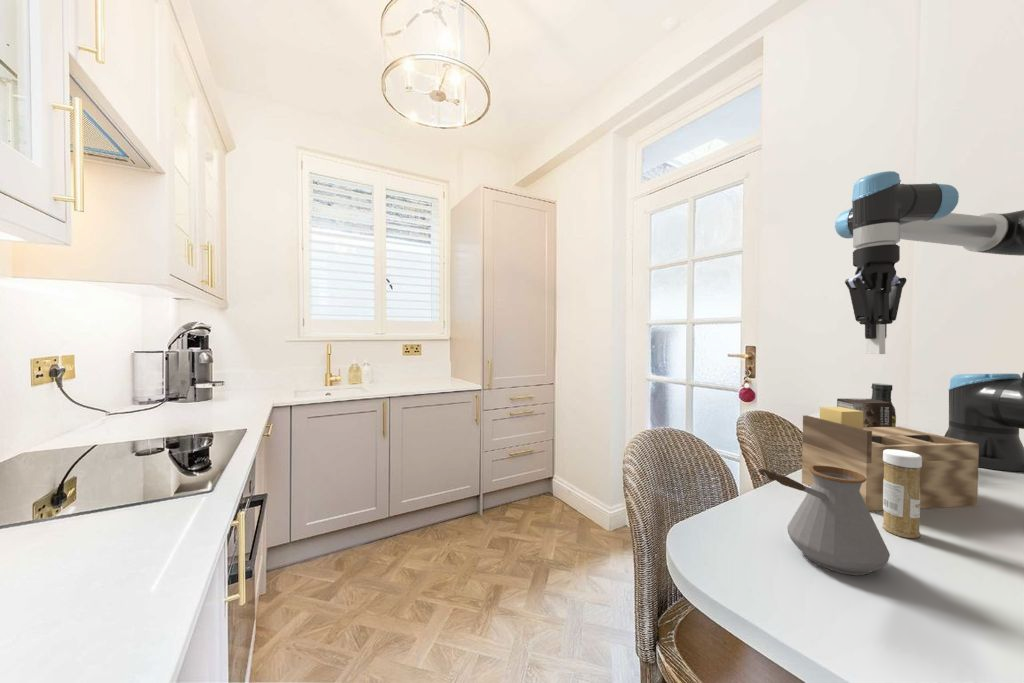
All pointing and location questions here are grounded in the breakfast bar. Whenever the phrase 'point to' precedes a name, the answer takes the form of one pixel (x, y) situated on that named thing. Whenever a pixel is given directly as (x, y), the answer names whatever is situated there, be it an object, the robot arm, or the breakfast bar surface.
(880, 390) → the sauce bottle
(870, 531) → the coffee pot
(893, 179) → the robot arm
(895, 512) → the sprinkles bottle
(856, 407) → the coffee box
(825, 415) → the ochre block
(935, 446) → the box
